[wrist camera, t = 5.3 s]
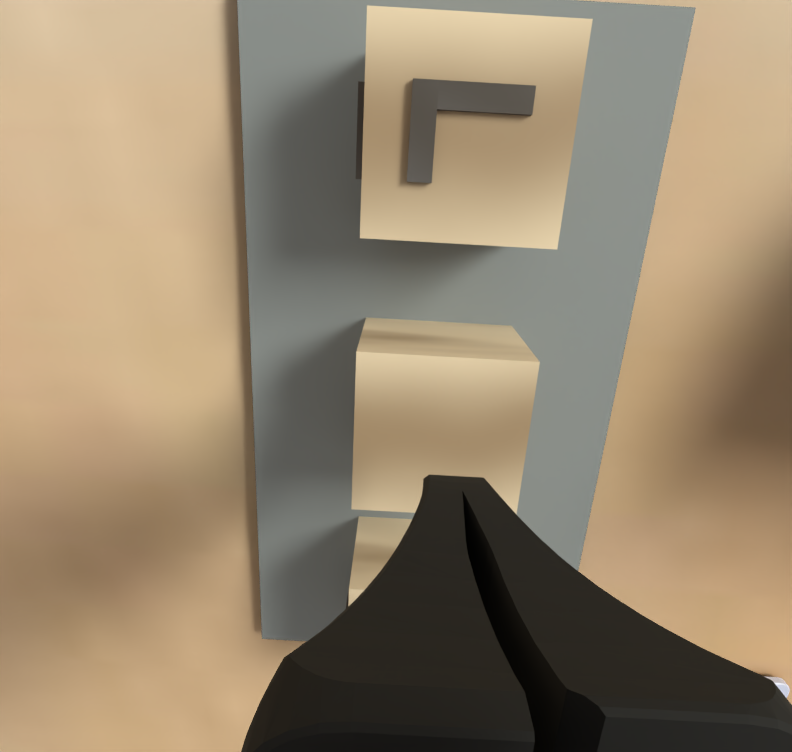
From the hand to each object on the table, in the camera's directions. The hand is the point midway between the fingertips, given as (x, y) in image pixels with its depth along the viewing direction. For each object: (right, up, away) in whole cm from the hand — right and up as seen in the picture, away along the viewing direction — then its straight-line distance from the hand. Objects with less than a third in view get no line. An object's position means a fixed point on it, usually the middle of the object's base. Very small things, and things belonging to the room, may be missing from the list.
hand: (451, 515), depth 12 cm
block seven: (0, +10, +5) cm, 11 cm away
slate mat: (0, +3, +8) cm, 8 cm away
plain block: (0, +3, +7) cm, 8 cm away
